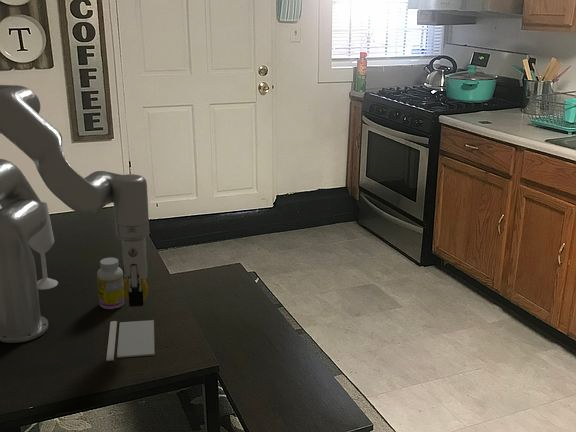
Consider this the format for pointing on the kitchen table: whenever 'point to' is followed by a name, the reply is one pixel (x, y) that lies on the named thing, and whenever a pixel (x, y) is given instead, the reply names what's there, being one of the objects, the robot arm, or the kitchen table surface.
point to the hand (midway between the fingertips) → (136, 298)
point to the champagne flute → (44, 250)
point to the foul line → (111, 341)
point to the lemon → (143, 287)
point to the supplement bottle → (110, 284)
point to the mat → (136, 339)
